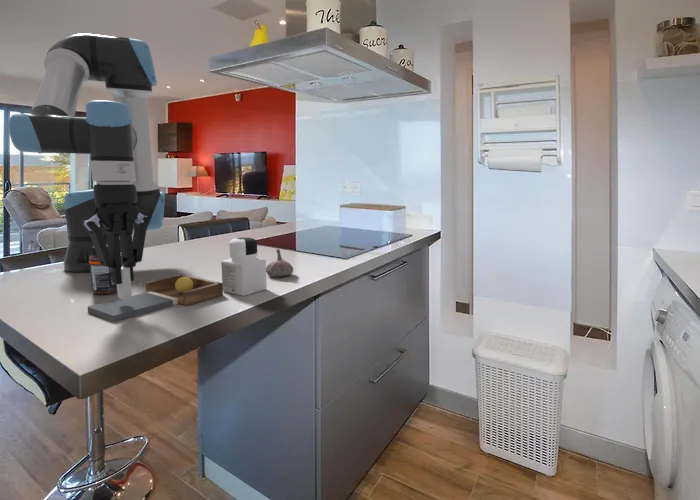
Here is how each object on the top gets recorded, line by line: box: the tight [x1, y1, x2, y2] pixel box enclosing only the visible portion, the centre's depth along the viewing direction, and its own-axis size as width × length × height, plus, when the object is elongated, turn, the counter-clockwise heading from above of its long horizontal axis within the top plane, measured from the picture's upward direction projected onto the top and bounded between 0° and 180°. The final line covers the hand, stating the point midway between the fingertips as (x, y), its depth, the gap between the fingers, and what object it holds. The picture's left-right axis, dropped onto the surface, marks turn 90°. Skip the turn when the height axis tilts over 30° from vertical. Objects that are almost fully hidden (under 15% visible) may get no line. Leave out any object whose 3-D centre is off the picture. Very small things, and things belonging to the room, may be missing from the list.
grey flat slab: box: [87, 291, 179, 323], centre depth 90 cm, size 10×14×1 cm
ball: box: [175, 277, 193, 294], centre depth 100 cm, size 4×4×4 cm
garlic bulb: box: [266, 248, 294, 279], centre depth 119 cm, size 8×7×8 cm
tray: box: [145, 273, 224, 307], centre depth 100 cm, size 15×10×3 cm, turn 57°
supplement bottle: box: [89, 245, 117, 296], centre depth 101 cm, size 6×6×11 cm
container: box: [221, 237, 268, 297], centre depth 103 cm, size 8×8×13 cm
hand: (124, 297), depth 88 cm, fingers closed
